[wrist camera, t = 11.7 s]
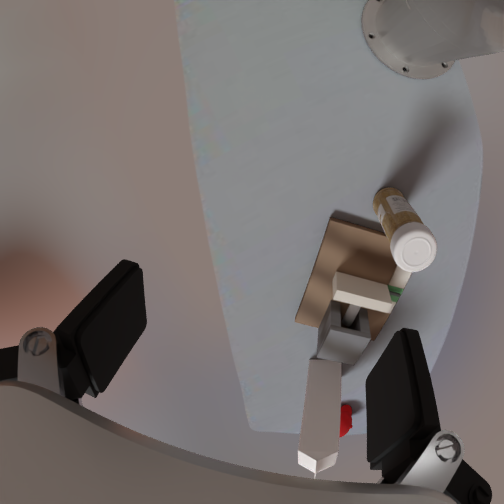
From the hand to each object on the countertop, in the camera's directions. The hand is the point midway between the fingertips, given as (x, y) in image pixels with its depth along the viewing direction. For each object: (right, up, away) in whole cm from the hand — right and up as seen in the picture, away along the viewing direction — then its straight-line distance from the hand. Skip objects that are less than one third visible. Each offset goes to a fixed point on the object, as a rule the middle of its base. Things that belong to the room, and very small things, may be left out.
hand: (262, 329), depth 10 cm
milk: (+13, -19, +43) cm, 49 cm away
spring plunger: (+16, -4, +32) cm, 36 cm away
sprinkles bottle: (+17, +9, +26) cm, 33 cm away
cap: (+19, -33, +49) cm, 63 cm away
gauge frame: (+15, -2, +33) cm, 36 cm away
